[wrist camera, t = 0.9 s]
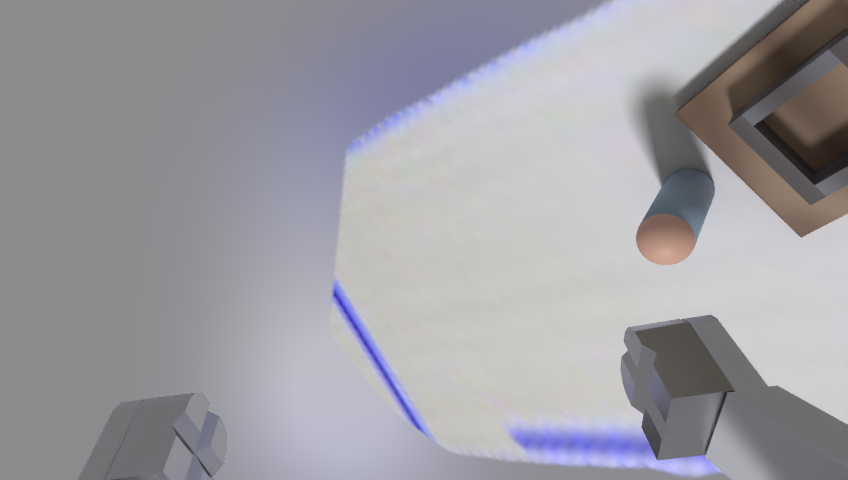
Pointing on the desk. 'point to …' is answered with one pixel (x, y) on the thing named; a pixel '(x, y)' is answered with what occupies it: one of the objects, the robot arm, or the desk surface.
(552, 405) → the desk surface
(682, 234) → the peach-tipped grey cylinder
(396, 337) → the desk surface
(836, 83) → the jig
